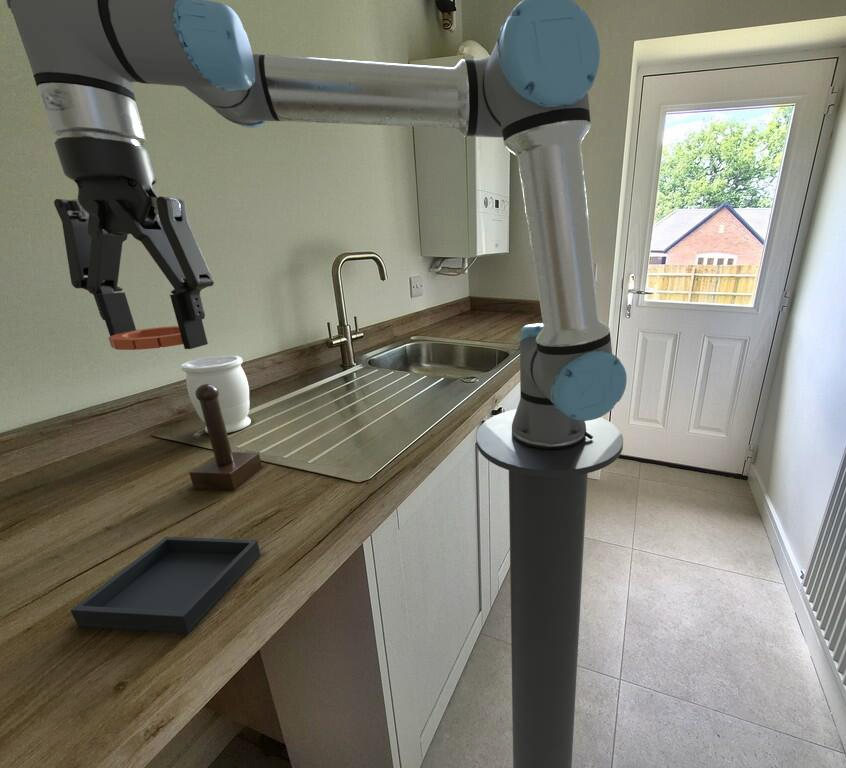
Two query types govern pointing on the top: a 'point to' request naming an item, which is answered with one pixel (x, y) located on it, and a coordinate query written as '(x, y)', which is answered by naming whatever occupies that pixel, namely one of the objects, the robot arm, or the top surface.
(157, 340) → the ring
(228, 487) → the ring stand
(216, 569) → the tray
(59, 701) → the top surface
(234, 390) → the jar
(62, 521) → the top surface
